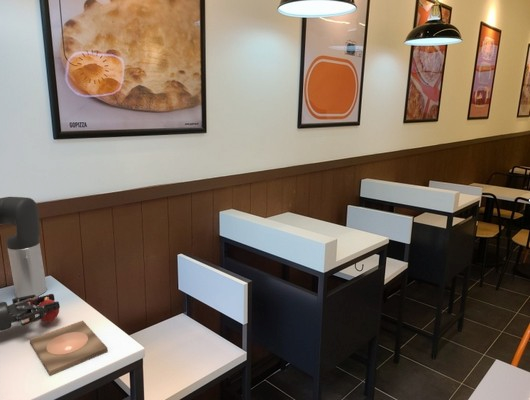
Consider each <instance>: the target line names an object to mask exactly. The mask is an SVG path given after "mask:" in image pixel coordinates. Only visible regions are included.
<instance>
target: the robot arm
mask: <svg viewBox="0 0 530 400" xmlns="http://www.w3.org/2000/svg"><path fill="white" fill-rule="evenodd" d="M40 224H41V223H40V213H39V208H38V205H37V202H36V201H35V200H34V199H33V198H31V197H25V196H24V197H23V196H6V197H5V196H3V197H0V225H6V226H16V233H15V234H12V235H10V236H8V237H7V239H6V247H7V254H8V259H9V264H10V270H11V276H12V282H13V288H14V293H15V294H14V295H15V297H16V298H13V299H12V300H11V301H12V304H10V305H8V303H7V301H1V302H0V332H1V331H6V330H10V329H11V328H12V324H13V323H17V322H20V325H21V327H23V326H27V325H29V324H32V323H34V322H37V321H39V320H40V319H42V318H44V317H45V316H44V315H45V314H46V313H47V312H51V311H54V310H57V309H59V310H60V308H61V307H60V302H59V301H58V300H57V301H55V295H54V293H50V294H46V295H43V294H44V293H45V292H46V291H47V290H48V289H47V283H46V282H47V281H46V275H45V268H44V263H43V257H42V250H41V244H40V234H41V225H40ZM40 295H41V296H40ZM46 297H49V299H50V300H53V301H55V302H53V303H49V304H46V305H42V306H39V305H40V303H41V302H43V301H44V299H45V298H46ZM38 309H39V310H38ZM40 321H41V320H40Z"/></svg>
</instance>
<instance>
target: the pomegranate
mask: <svg viewBox="0 0 530 400" xmlns="http://www.w3.org/2000/svg"><path fill="white" fill-rule="evenodd" d="M53 302H56V301H55V300H54V301H53V300H50V299H49V297H46V298H45V299H44V301H43V302H41V303H40V305H38V306H42V305H46V304H49V303H53ZM38 310H39V309H38ZM59 313H60V308H59V309H57V310H54V311H51V312H47V313H46V314H45V315H44V316H45V317H44V318H42V319H40V321H43V322H44V323H51V322H53V321H54V320H55V319H56V318H58V315H59Z"/></svg>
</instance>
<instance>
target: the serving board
mask: <svg viewBox="0 0 530 400" xmlns="http://www.w3.org/2000/svg"><path fill="white" fill-rule="evenodd" d="M29 343H30V345H31V347H32V349H33V351H34V352H35V354H36V355H37V357H38V358H39V360H40V362H41V363H42V365H43V367H44V368H45V370H46V371H47V373H48V375H49V376H50V377H51V376H52V375H56V374H57V373H59V372H63V371H65V370H67V369H70V368H72V367H74V366H77V365H79V364H81V363H84V362H87V361H88V360H91V359H94V358H96V357H99V356H100V355H103V354H105V353H108V351H109V350H108V347H107V346H106V344H105V343H104V342H103V341H102V340H101V339H100V337H98V336H97V334H96V333H95V332H94V331H93V330H92V329H91V328H90V327H89V325H88V324H87V323H86V322H85V321H84V320H80V321H77V322H74V323H72V324H69V325H66V326H63V327H60V328H58V329H54V330H52V331H49V332H46V333H43V334H40V335H39V336H35V337H32V338H30V339H29Z"/></svg>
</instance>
